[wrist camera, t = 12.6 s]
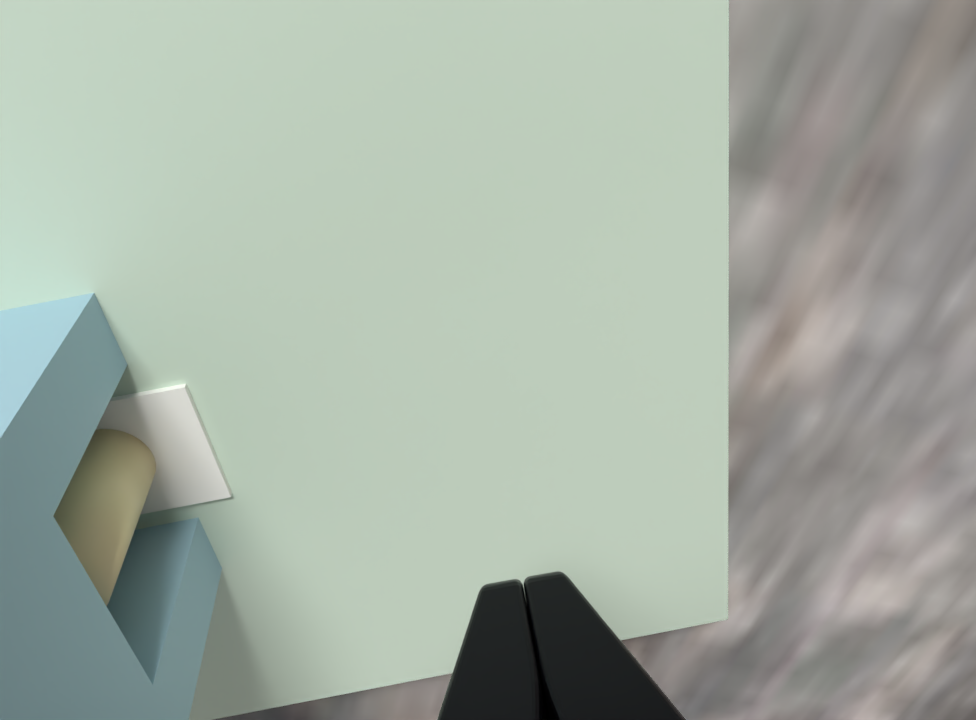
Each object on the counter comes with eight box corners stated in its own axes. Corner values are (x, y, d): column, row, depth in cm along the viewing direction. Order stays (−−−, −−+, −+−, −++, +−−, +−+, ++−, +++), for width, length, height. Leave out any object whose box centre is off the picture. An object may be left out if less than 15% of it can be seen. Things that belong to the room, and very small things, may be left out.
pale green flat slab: (698, -136, 10) (838, -130, 7) (709, 578, 16) (783, 743, 13) (-1024, 178, 9) (-1664, 330, 7) (-321, 778, 16) (-483, 992, 13)
